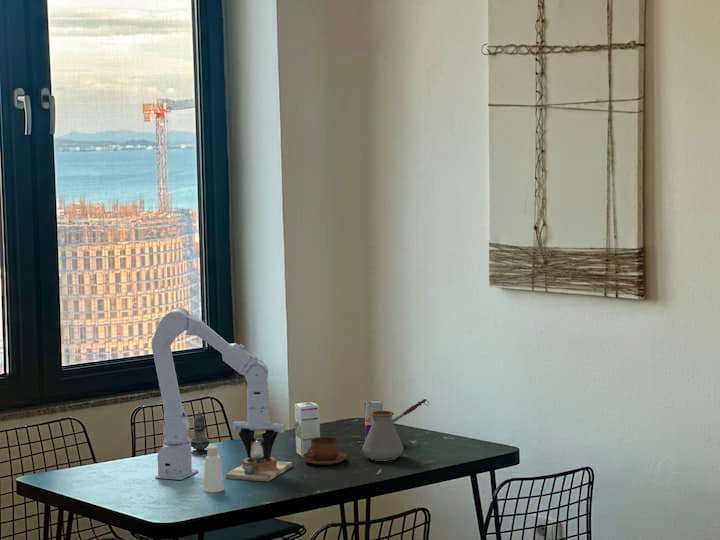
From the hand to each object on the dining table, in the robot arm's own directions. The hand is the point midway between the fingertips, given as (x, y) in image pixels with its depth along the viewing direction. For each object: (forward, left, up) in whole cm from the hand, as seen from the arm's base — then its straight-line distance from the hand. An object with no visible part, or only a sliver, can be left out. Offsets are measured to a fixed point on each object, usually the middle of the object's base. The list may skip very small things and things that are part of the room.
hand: (259, 457), depth 302 cm
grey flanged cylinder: (+16, +26, -4) cm, 31 cm away
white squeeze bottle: (-19, +4, -4) cm, 20 cm away
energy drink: (+42, -18, -4) cm, 46 cm away
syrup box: (+22, -5, -4) cm, 23 cm away
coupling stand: (0, 0, -4) cm, 4 cm away
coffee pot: (+27, -30, -4) cm, 41 cm away
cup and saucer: (+15, -13, -4) cm, 20 cm away
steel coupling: (0, 0, -2) cm, 2 cm away
